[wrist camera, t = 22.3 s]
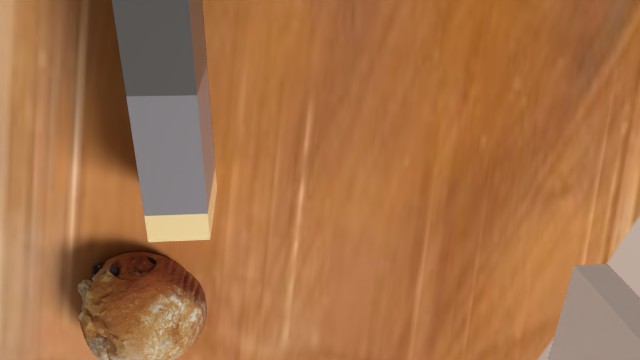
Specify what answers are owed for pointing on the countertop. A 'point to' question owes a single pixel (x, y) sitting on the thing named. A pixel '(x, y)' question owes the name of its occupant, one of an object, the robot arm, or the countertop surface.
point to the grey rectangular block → (169, 114)
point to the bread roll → (141, 308)
